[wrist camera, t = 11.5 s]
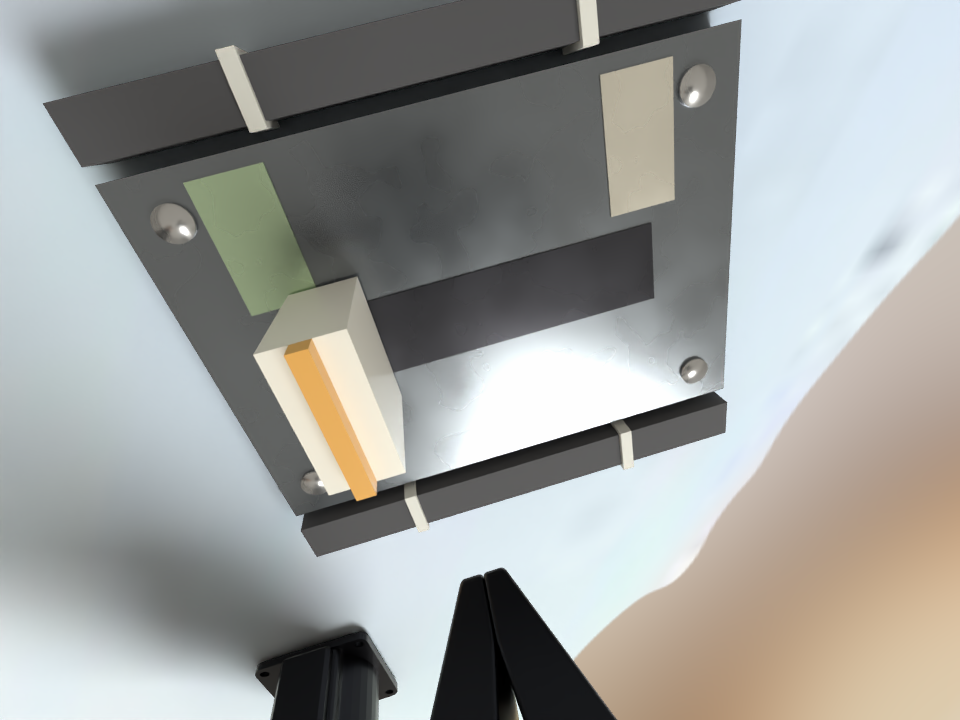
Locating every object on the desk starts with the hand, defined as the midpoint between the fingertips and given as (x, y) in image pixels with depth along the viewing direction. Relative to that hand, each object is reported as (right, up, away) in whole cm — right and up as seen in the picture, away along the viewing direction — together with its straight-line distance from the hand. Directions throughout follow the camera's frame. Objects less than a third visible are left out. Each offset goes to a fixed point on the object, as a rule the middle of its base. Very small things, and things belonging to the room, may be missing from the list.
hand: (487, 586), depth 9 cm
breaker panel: (0, +7, +10) cm, 12 cm away
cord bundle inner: (+1, 0, +14) cm, 14 cm away
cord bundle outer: (-2, +14, +6) cm, 15 cm away
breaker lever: (-5, +5, +8) cm, 11 cm away
